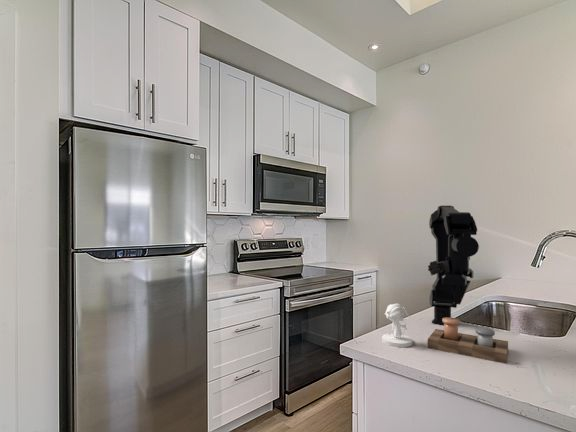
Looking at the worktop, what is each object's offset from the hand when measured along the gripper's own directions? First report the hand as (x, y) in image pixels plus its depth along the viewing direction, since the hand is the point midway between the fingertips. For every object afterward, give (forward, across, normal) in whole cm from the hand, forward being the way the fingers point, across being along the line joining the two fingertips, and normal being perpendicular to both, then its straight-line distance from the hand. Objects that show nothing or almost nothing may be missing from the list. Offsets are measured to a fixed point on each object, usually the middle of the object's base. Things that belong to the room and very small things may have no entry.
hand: (458, 304), depth 105 cm
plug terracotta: (+10, +2, -2) cm, 11 cm away
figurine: (+13, +8, -16) cm, 22 cm away
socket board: (+12, +2, +3) cm, 13 cm away
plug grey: (+12, +2, +7) cm, 14 cm away
